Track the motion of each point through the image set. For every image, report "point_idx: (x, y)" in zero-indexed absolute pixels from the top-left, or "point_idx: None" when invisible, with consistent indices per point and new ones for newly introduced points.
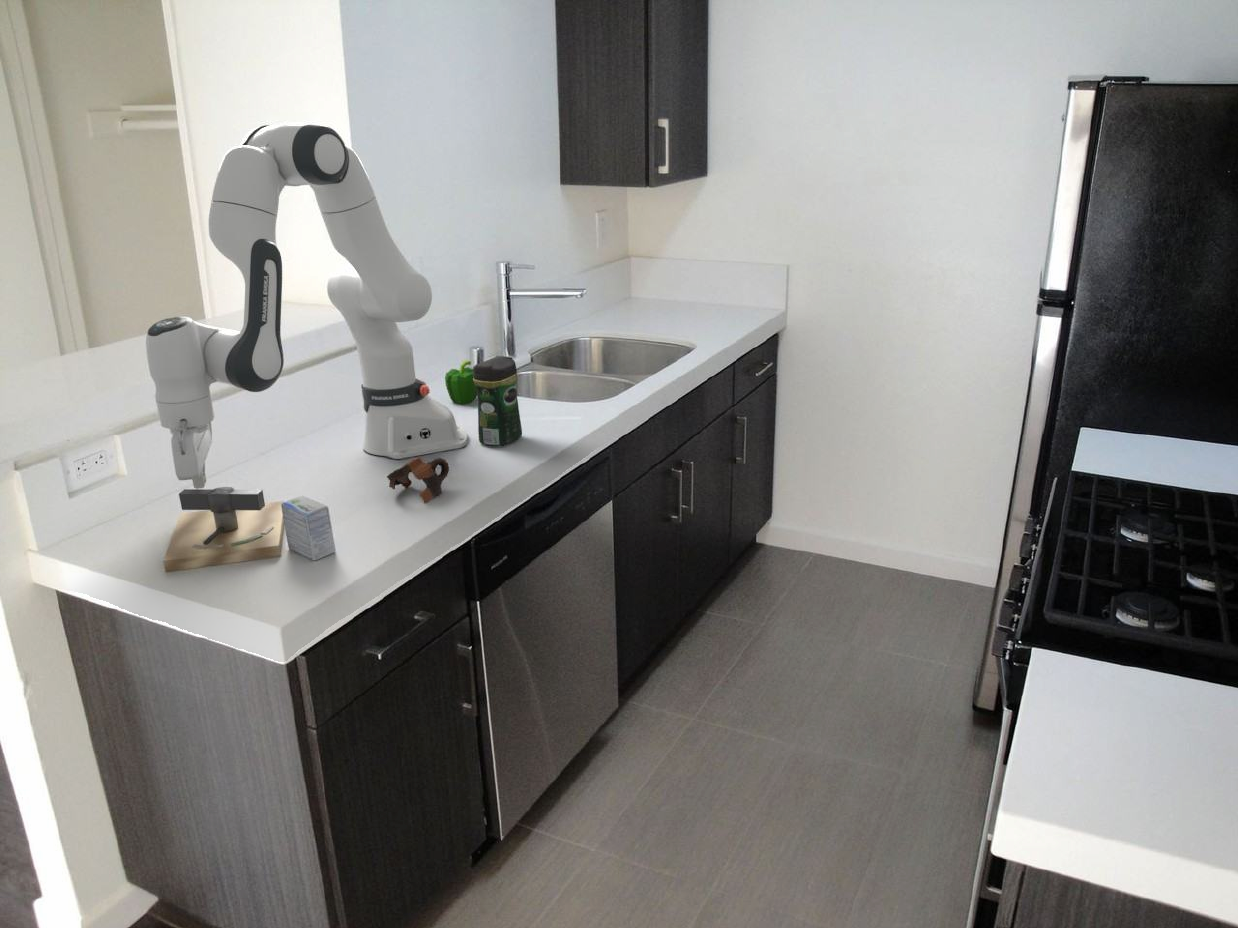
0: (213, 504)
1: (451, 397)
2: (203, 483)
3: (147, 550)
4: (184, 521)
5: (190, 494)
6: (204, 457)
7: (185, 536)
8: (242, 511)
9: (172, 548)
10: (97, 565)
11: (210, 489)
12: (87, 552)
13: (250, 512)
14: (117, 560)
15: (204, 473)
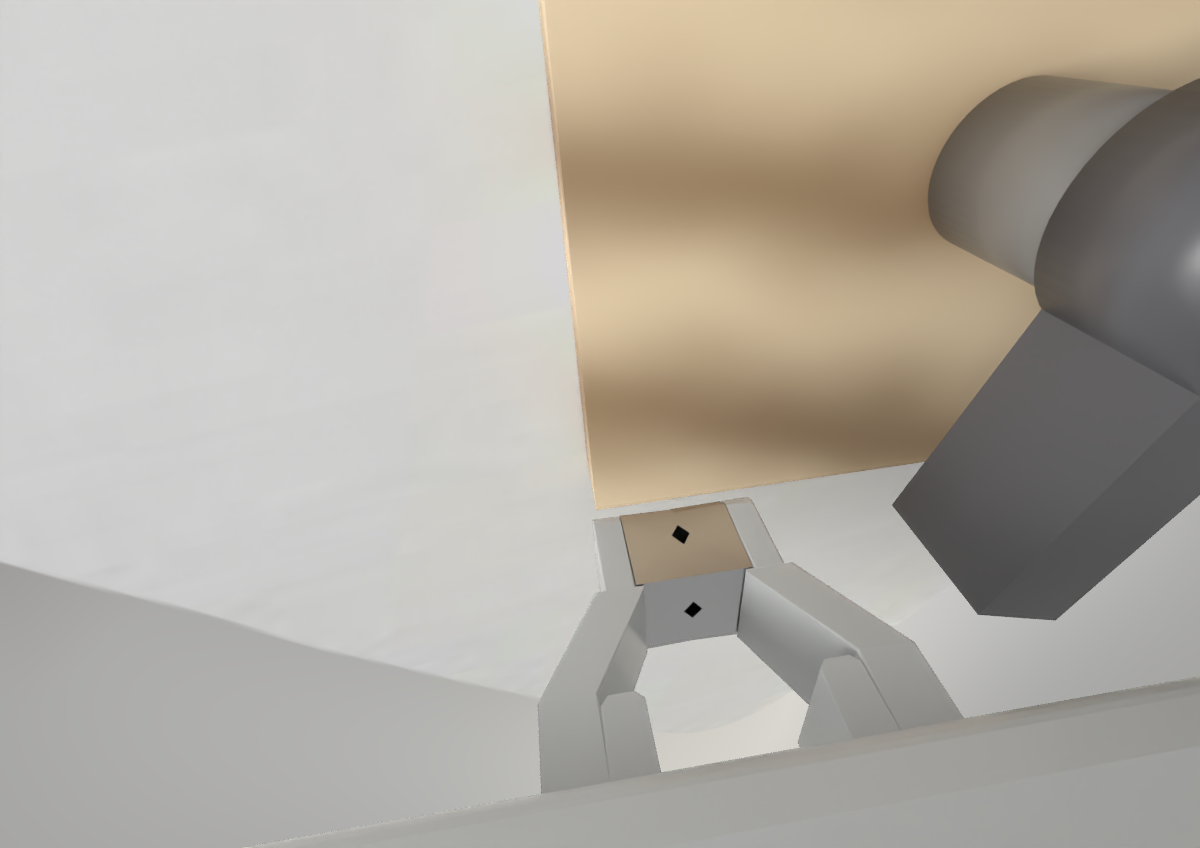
0: None
1: None
2: (760, 523)
3: (848, 513)
4: (725, 462)
5: (1129, 544)
6: (1011, 829)
7: (950, 403)
8: (688, 104)
9: None
10: (890, 609)
11: (1186, 416)
12: (761, 662)
13: (745, 10)
14: (885, 573)
15: (642, 591)
